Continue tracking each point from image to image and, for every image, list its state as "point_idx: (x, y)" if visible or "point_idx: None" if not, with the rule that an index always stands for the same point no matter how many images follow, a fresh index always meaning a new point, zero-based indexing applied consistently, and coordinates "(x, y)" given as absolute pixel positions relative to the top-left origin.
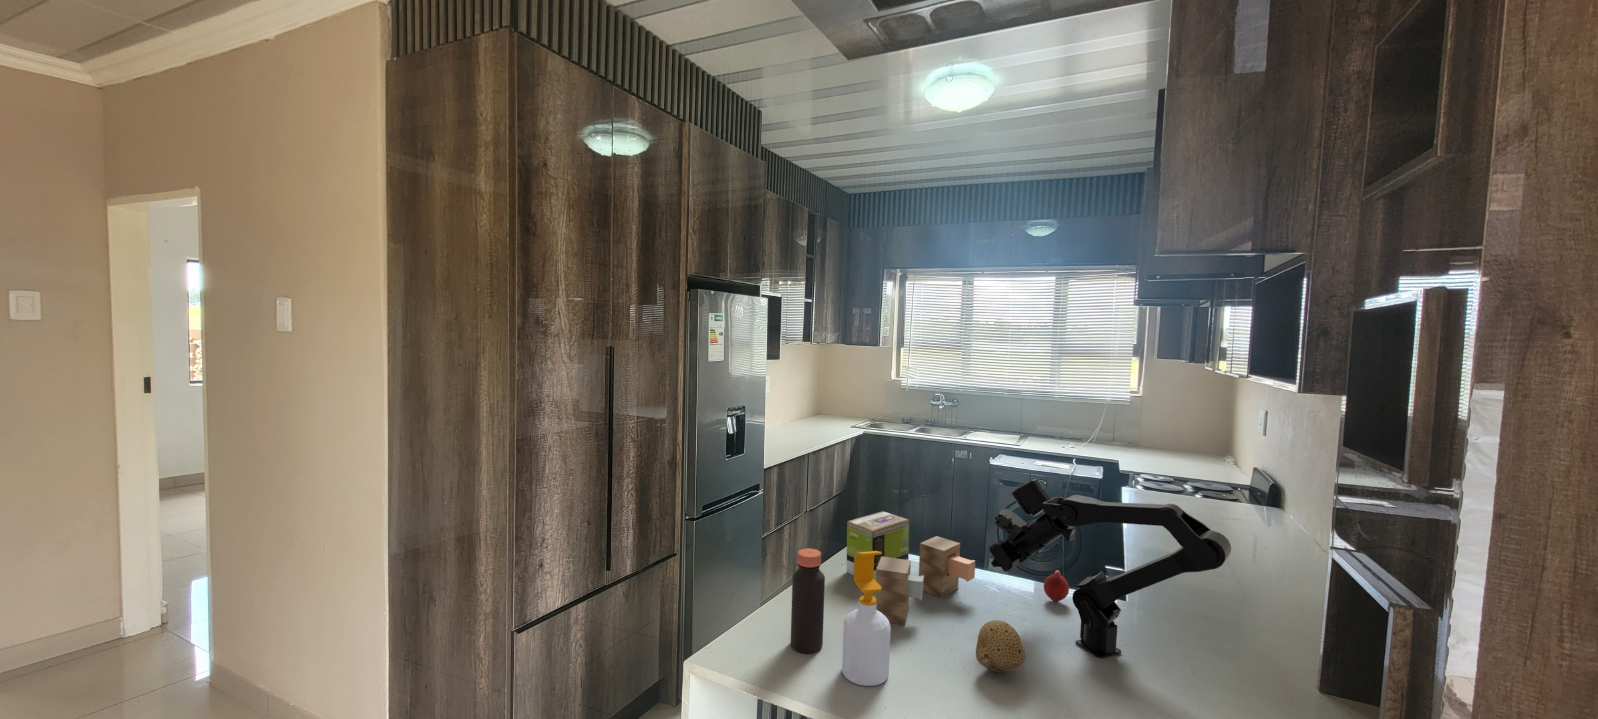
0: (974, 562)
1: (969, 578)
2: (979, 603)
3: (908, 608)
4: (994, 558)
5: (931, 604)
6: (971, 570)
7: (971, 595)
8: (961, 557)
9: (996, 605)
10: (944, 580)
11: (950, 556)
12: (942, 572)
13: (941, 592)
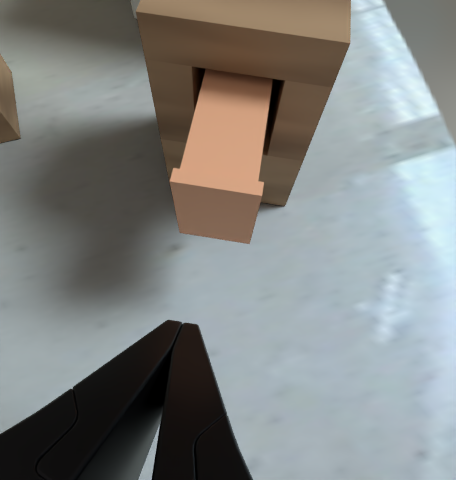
0: (249, 199)
1: (194, 230)
2: (211, 311)
3: (6, 135)
4: (123, 352)
5: (96, 179)
6: (212, 215)
7: (260, 263)
8: (263, 122)
9: (239, 378)
10: (176, 151)
11: (233, 78)
12: (157, 118)
13: (168, 175)
